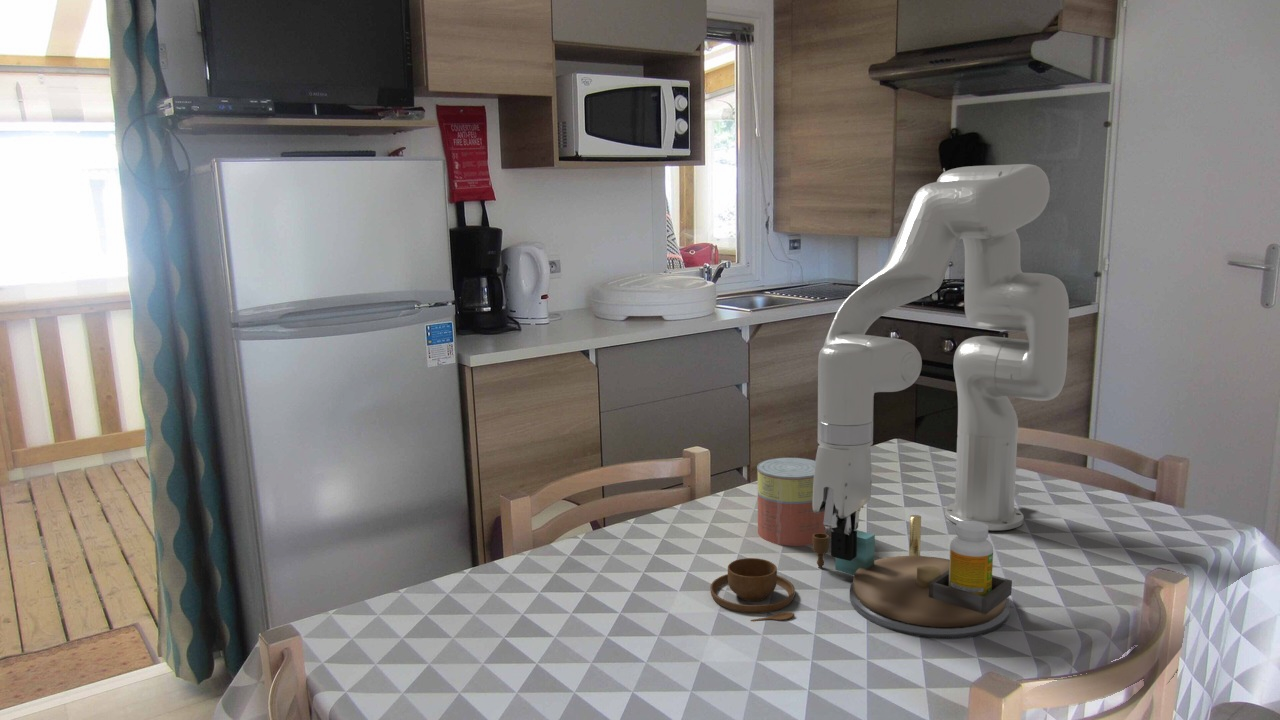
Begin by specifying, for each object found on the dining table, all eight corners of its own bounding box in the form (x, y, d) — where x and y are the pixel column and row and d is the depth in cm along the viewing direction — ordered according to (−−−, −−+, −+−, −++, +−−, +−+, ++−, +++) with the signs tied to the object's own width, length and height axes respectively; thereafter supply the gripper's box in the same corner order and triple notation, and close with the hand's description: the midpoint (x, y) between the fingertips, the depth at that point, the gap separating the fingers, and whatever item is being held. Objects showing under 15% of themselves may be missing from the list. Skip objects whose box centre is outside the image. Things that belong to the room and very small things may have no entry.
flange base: (897, 560, 141) (898, 510, 139) (1035, 598, 126) (1038, 543, 125) (820, 605, 126) (820, 550, 124) (966, 655, 111) (969, 593, 110)
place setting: (698, 577, 138) (697, 540, 137) (824, 566, 141) (825, 530, 140) (726, 630, 121) (725, 588, 120) (869, 616, 124) (870, 575, 123)
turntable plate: (1029, 590, 126) (1031, 549, 125) (964, 642, 112) (966, 596, 111) (874, 548, 142) (875, 511, 141) (801, 588, 128) (801, 548, 127)
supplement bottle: (994, 604, 118) (997, 533, 117) (950, 601, 120) (952, 531, 118) (988, 587, 124) (991, 519, 122) (946, 585, 125) (948, 517, 123)
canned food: (817, 523, 158) (817, 456, 156) (832, 547, 147) (833, 475, 145) (752, 525, 158) (752, 458, 156) (763, 549, 147) (762, 478, 145)
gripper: (843, 418, 135) (842, 536, 138) (795, 440, 123) (795, 568, 126) (892, 424, 130) (889, 546, 134) (847, 448, 119) (845, 581, 122)
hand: (843, 556), depth 130 cm, fingers closed
